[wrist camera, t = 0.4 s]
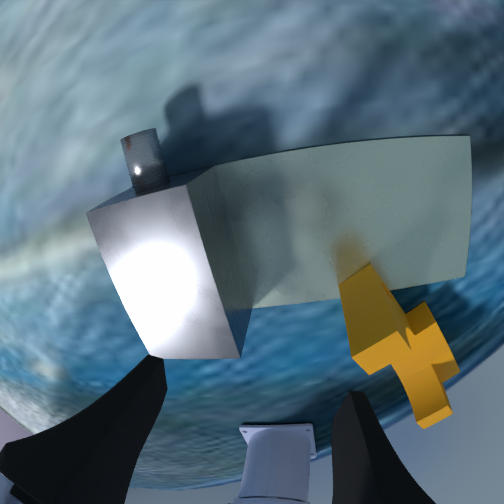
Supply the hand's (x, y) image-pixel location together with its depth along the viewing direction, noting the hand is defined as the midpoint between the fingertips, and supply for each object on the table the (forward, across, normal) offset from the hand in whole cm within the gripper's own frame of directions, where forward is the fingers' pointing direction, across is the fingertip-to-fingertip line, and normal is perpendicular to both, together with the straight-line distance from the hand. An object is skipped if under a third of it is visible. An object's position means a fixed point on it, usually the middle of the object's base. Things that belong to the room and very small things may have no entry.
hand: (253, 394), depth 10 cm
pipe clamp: (+10, -10, +2) cm, 15 cm away
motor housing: (+10, -2, -5) cm, 11 cm away
